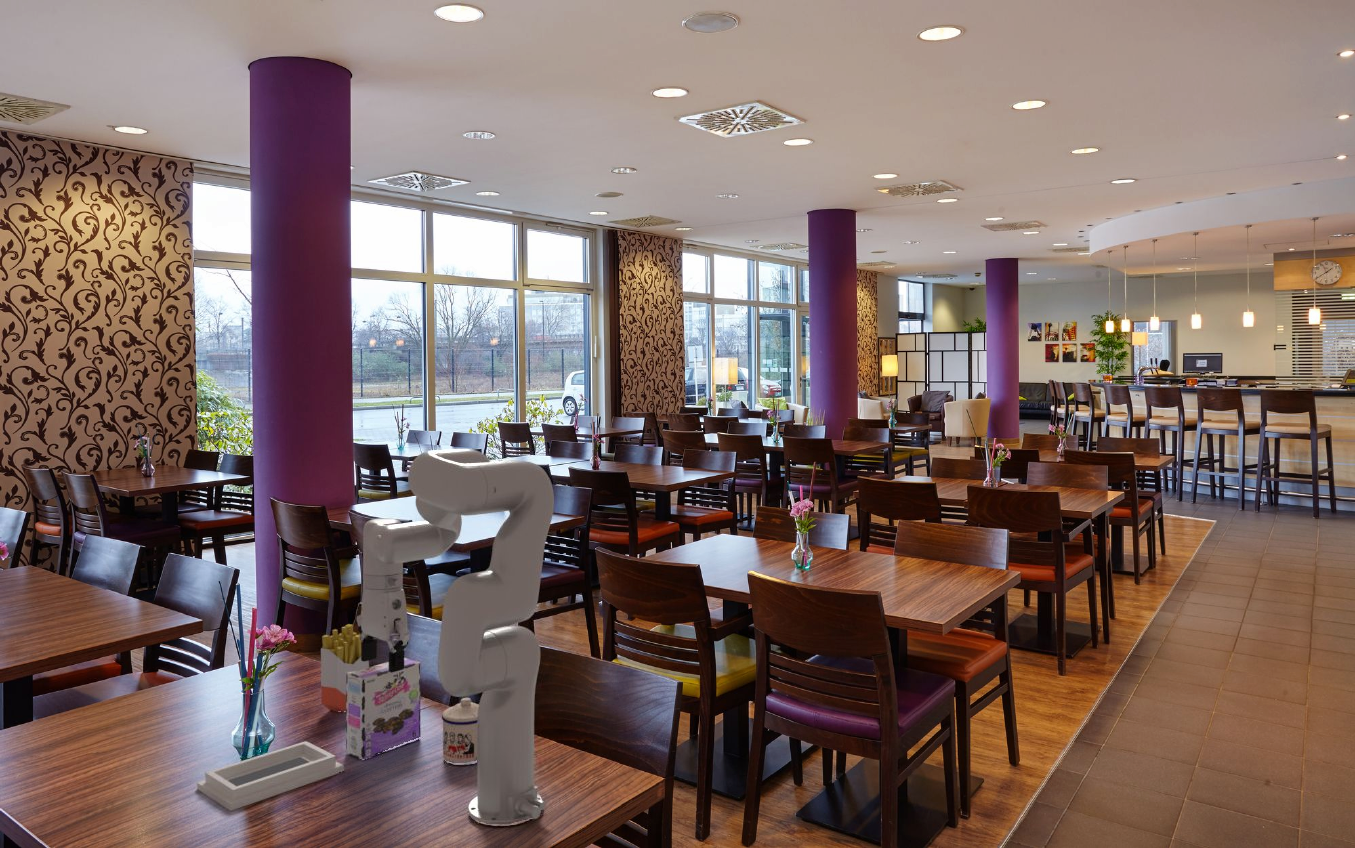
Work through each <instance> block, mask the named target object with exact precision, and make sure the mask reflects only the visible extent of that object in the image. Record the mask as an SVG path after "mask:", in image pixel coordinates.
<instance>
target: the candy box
mask: <svg viewBox="0 0 1355 848" xmlns="http://www.w3.org/2000/svg"><path fill="white" fill-rule="evenodd" d="M345 714H346V715H345V716H346V717H345V719H346V721H345V726H346V727H345V738H346V739H345V740H346V741H345V753H346V754H347V755H350V756H351V755H352V757H354V758H356V757H357V758H356V759H358V758H359V759H358V760H360V759H366V758H369V757H372V756H374V755H377V754H378V753H382V752H383V751H385V750H388V749H389V748H393V747H394V746H398V745H400V744H403V743H404V742H408V741H410V740H414V739H416V738H419V737H422V736H421V662H420V661H418V660H415V659H410V658H407V657H404V669H403V670H400V671H396V672H392V673H391V672H389V661H386V662H384V663H380V664H377V665H376V664H375V665H373V666H369V667H368V668H364V669H360V670H357V671H353V672H347V673H346V713H345ZM377 756H378V755H377ZM374 757H375V756H374ZM372 758H373V757H372ZM369 759H370V758H369ZM366 760H367V759H366Z"/></svg>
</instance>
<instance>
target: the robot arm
mask: <svg viewBox="0 0 1355 848" xmlns="http://www.w3.org/2000/svg"><path fill="white" fill-rule="evenodd" d="M407 477H408V479H407V481H408V485H409V488H410V490H411V492H412V494H413V495H414V496H415V507H416V510H417V513H418V514H419V516H421V518H423V520H420V521H419V520H417V521H410V522H403V523H402V521H401V520H399V519H396V518H388V517H385V518H384V517H382V518H373V519H370V520H368V521H366V522H365V524H364V526H363V539H362V540H363V543H362V544H363V545H362V547H363V548H362V550H363V551H362V553H363V555H362V559H363V562H362V571H363V572H362V579H363V582H362V583H363V584H362V585H363V586H362V598H361V609H360V614H359V615H357V616H356V622H357V626H358V629H357V631H358V634H360V635H361V636H360V641H363V642H361V661H363V662H365V661H369V662H370V661H372V660H375V659H377V656H378V651H377V647H378V646H377V644H378V643H377V642H378V640H380V641H384V642H386V643H387V645H388V647H389V650H390V652H388V662H389V672H391V673H392V672H396V671H400V670H403V669H404V658H405V651H406V650H407V646H408V644H409V640H410V637H411V632H410V630H409V629H408V611H407V599H406V594H405V590H404V589H403V587H404V586H403V582H404V581H403V580H404V579H403V577H404V575H403V570H404V567H403V566H404V564H403V563H409V562H415V561H421V560H427V559H434V558H437V557H439V556H442V555H443V554H445V553H446V552H447V551H448V550H449V549H450V548H451V547H452V546H453V545H454V544H455V543H456V541H458V540H459V538H460V535H461V531H462V527H463V526H462V523H463V521H462V520H463V519H462V516H464V517H465V516H466V517H467V516H476V515H486V514H487V515H488V514H492V513H493V514H495V513H502V512H508V513H509V515H508V516H507V518H506V519H505V520H504V522H503V523H502V524H501V526H500V527H499V530H498V531H497V532H496V535H495V538H494V540H493V543H492V548H491V549H492V551H491V559H490V562H489V567H488V568H487V569H486V570H483V571H478V572H474V573H473V572H472V573H467V574H465V575H461V576H460V577H458V578H456V579H455V580H454V581H452V583H451V584H450V585H449V587H448V589H447V591H446V593H445V595H444V601H443V607H442V616H441V625H440V634H439V644H438V653H437V671H438V672H437V673H438V678H439V679H438V680H439V682H440V684H441V687H442V689H443V690H444V691H445V692H446V693H447V694H449V695H450V696H452V697H457V698H466V697H470V696H473V695H477V694H480V693H482V695H481V697H480V700H479V703H478V705H479V707H478V716H477V764H476V765H477V771H476V772H477V774H476V775H477V777H476V779H477V781H476V783H477V784H476V785H477V789H476V790H477V793H476V797H474V798H473V799H472V800H471V801H470V802H469V804H468V807H467V812H468V813H469V815H470V816H471V818H473V819H474V820H478V821H479V822H484V823H486V824H511V823H514V822H519V821H522V820H526V819H528V818H533V819H532V820H536V819H538V818H539V817H540V815H541V813H542V811H543V810H545V808H546V807H547V802H546V801H544V800H543V798H542V797H541V795H540V794H538V786H535V694H536V686H537V685H536V684H537V679H538V673H539V669H540V668H539V667H540V663H541V647H540V643H539V639H538V638H537V636H536V635H535V633H534V632H533V631H532V630H530V629H529V628H527V627H524V626H520V625H515V624H519V623H521V622H524V621H527V620H529V619H530V618H531V617H532V616H533V615H534V613H535V612H536V610H537V605H538V601H539V593H540V585H541V579H542V569H543V562H544V552H545V546H546V542H547V537H548V532H549V530H550V526H551V523H552V519H553V515H554V508H555V497H554V496H555V495H554V494H555V493H554V488H553V485H552V481H551V479H550V477H549V476H548V474H547V472H546V471H545V470H544V468H542V467H541V466H540V465H538V464H537V463H534V462H530V461H526V460H516V459H515V460H514V459H513V460H500V461H498V460H497V461H490V459H489V458H488V456H486V454H484V453H482V452H481V451H478V450H476V449H473V448H472V449H471V448H455V449H440V450H439V449H437V450H428V451H427V450H426V451H424V452H422V453H420V454H419V455H418V456H416V457H415V458H414V460H413V461H412V462H411V463H410V466H409V470H408V476H407ZM395 641H397V642H396V643H395ZM541 810H542V811H541ZM468 813H467V814H468ZM469 815H468V816H469ZM471 818H470V819H471Z"/></svg>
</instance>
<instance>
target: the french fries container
mask: <svg viewBox="0 0 1355 848" xmlns="http://www.w3.org/2000/svg"><path fill="white" fill-rule="evenodd" d="M360 636H361V635H360V633H358V632H354V624H350V623H348V624H346V625H345V626H342V627H341V632H340V633H339V632H338V629H336V628H335V629H332V635H328V634H324V635H322V636H321V638H322V647H321V648H320V675H321V676H320V683H321V684H320V687H321V688H320V693H321V694H320V695H321V697H320V698H321V702H320V703H321V705H322V706H324V707H325V708H326V709H327V710H329V711H330V710H334V711H333V712H335V711H341V712H344V711H346V673H347V672H353V671H357V670H360V669H364V668H368V667H370V660H369V661H365V662H363V661H361V642H363V641H360ZM341 712H340V713H341Z"/></svg>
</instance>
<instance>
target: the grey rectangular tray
mask: <svg viewBox="0 0 1355 848" xmlns="http://www.w3.org/2000/svg"><path fill="white" fill-rule="evenodd" d="M336 758H337V755H335V754H332V753H330V752H329V751H326V750H325V749H322V748H320V747H318V746H316V745H315V744H312V743H311V742H309V741H307V740H305V741H302V742H299V743H296V744H292V745H290V746H286V747H282V748H279V749H277V750H273V751H270V752H266V753H263V754H261V755H260V754H259V755H257V756H253V757H251V758H247V759H245V760H244V759H243V760H240V761H238V762H234V763H231V764H228V765H225V766H222V767H218V768H216V769H211V770H209V771H206V772H204V773H205V774H204V777H205V778H204V779H203V780H200V781H198V782H196V790H198V791H199V792H200V793H202V794H204V795H206V796H207V797H209V798H210V799H211V800H213V801H215V802H216V803H217V804H218V805H221V806H222V807H223V808H225V809H227V810H228V811H230V812H232V811H234V810H239V809H240V808H243V807H246V806H249V805H252V804H254V803H257V802H260V801H263V800H267V799H269V798H272V797H274V796H277V795H280V794H283V793H286V792H289V791H292V790H295V789H297V788H300V787H303V786H305V785H309V784H312V783H315V782H319V781H320V780H323V779H326V778H330V777H332V776H334V775H337V774H340V773H339V772H341V773H343V772H342V771H344V770H345V769H344V768H345V767H344V764H342V763H340V762H338V761H337V759H336Z"/></svg>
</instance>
